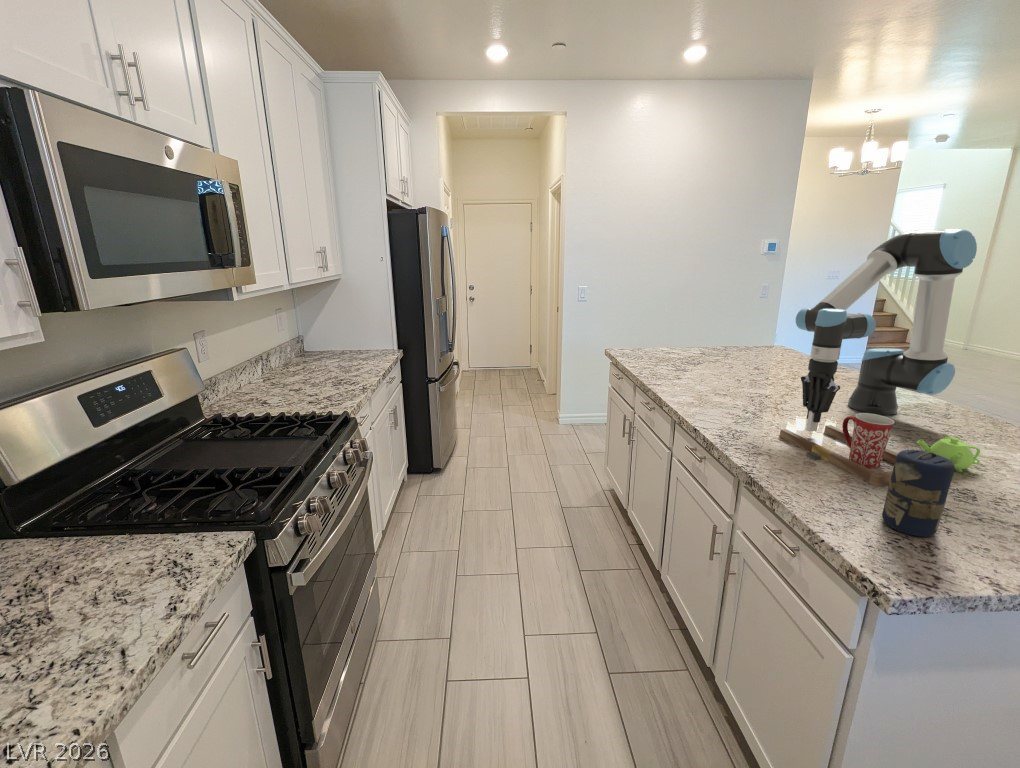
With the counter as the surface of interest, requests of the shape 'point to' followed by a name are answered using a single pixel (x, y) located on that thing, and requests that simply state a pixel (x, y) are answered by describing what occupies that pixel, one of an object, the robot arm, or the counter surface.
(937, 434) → the counter surface
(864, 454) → the mug
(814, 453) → the beam slot
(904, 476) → the canister
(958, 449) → the teapot
